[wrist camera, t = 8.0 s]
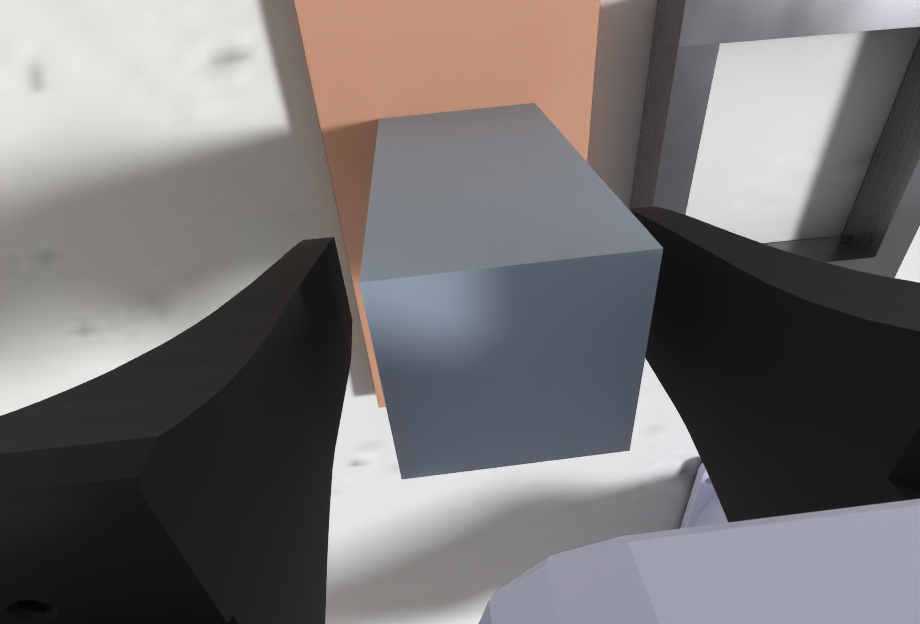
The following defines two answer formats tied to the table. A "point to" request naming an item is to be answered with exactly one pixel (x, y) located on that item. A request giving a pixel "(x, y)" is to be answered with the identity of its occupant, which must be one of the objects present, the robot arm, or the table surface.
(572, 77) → the terracotta tile
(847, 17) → the iron collar
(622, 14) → the table surface
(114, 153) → the table surface
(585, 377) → the metal peg
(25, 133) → the table surface
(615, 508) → the table surface
